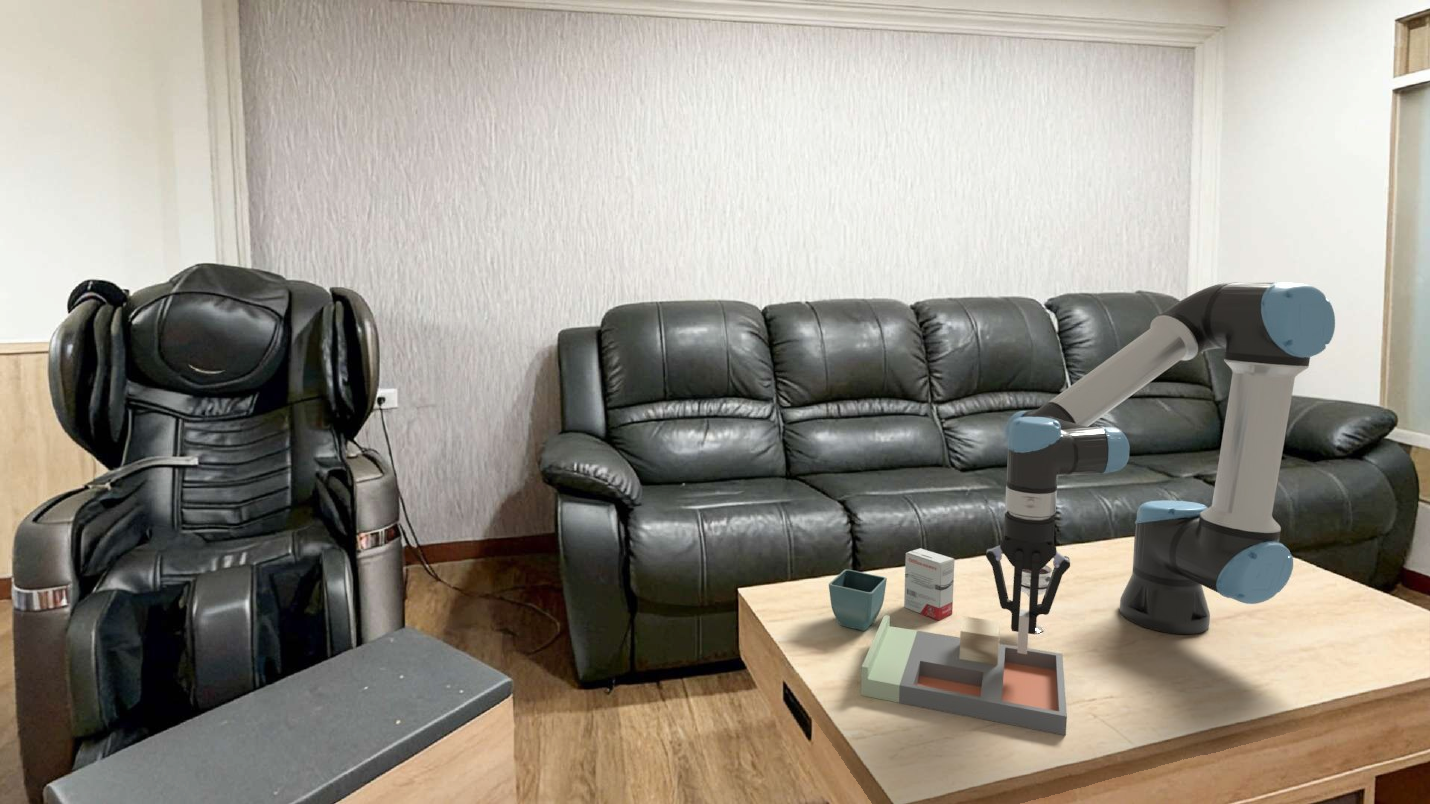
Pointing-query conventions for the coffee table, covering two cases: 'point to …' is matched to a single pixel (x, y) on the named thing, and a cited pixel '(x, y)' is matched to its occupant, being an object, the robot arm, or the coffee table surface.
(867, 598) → the flower pot
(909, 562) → the ink box
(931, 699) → the grey compartment tray
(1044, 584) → the wineglass
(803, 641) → the coffee table surface
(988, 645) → the birch block
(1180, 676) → the coffee table surface
